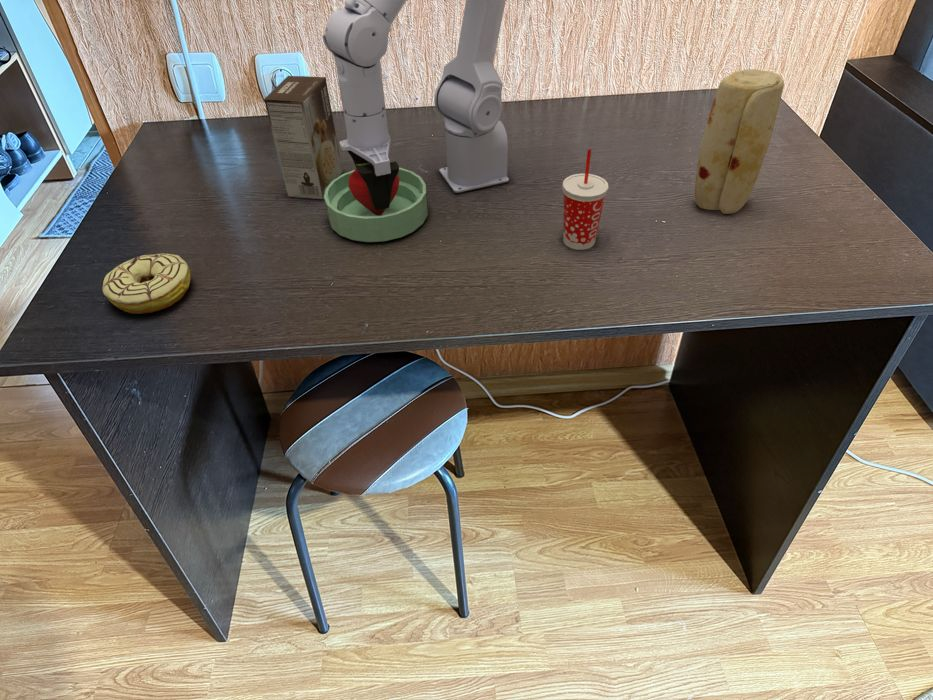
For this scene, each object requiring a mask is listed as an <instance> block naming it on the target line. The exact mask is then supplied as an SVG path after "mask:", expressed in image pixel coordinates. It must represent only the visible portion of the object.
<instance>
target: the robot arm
mask: <svg viewBox="0 0 933 700" xmlns="http://www.w3.org/2000/svg"><path fill="white" fill-rule="evenodd" d="M407 1H408V0H344V7H340V8H339V10H338V9H336V10H334V11H333V12H332V13H331V15H330V16H329V18H328V19H327V22H326V25H325V32H324V34H322V35H321V37H322V41H323V45H324V46H325V47H326V49H327V50H328V51H329V52H330V53H331V54H332V56H333V58H334V63H335V67H336V68H335V69H336V74H337V80H338V87H339V92H340V93H339V94H340V100H341V106H342V112H343V113H342V114H343V118H344V125H345V131H346V132H345V133H346V139H342V140H340V141H339V143H338V144H339V147H340V149H341V151H343V152H347V153H348V154H349V155H350V157H351V159H352V161H353V163H354V166H355V169H356V168H357V171H358V172H359V174H360V176H361V177H362V179H363V180H364V181H365V183H366V185H367V188H368V191H369V194H370V197H371V201H372V203H373V206H374V208H375V210H382V209H386V208H389V206H390V200H391V192H392V187H393V183H394V180H395V178H396V176H397V174H398V172H399V168H400V165H399V163H398V162H397V160H396V161H390V158H389V157H390V150H391V142H392V140H391V135H390V134H389V126H388V117H387V107H386V100H385V91H384V82H383V73H382V63H381V59H382V58H383V57H384V56H385V55H386V53H387V50H388V46H389V35H390V32H391V27H392V25H393V23H394V21H395V20H396V19H397V16H398V15H399V14H400V12H401V10H402V9H403V7H404V6H405V4H406V3H407ZM506 1H507V0H465V3H464V11H463V16H462V20H461V28H460V32H459V38H458V43H457V50H456V55H455V57H454V58H452V59H451V60H450V61H449V62H447V63H446V64H445V65H444V66H443V71H442V76H441V78H440V81H439V82H438V84H437V85H436V88H435V91H434V95H433V96H434V97H433V101H434V107H435V109H436V111H437V112H438V113H439V114H440V115H442V123H443V124H444V129H445V150H446V167H441V168H439V173H440V175H441V176H442V178H443V179H444V180H445V182H446V183H447V185H448V186H449V187H450V188H451V190H452V191H453V193H455V194H458V193H464V192H469V191H472V190H478V189H482V188H488V187H491V186H496V185H501V184H505V183H509V181H510V178H509V177H508V162H509V161H508V159H509V157H508V155H509V153H508V152H509V141H508V134H507V130H506V128H505V126H504V123H503V122H502V121H501V120H500V119H501V116H502V112H503V102H502V101H503V100H502V91H503V87H504V84H503V81H502V79H501V76H500V75H499V72H498V71H497V69H496V68H495V66H494V61H495V57H496V51H497V47H498V42H499V37H500V32H501V26H502V21H503V18H504V17H503V16H504V12H505V6H506ZM366 163H369V164H367V165H362V166H357V165H356V164H366Z"/></svg>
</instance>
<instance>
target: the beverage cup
mask: <svg viewBox="0 0 933 700" xmlns="http://www.w3.org/2000/svg"><path fill="white" fill-rule="evenodd" d="M591 159H592V148H587V154H586V161H585V162H586V163H585V170H584V173H575V174H571V175H569V176H567V177H566V178H565V179H564V180H563V181H562V193H563V194H564V195H563V226H562V227H563V228H562V229H563V233H562V242H563V244H564V245H565V246H566V247H568V248H570V249H573V250H581V251H582V250H588V249H591V248H592V247H593V246H594V245H595V244H596V241H597V236H598V231H599V226H600V221H601V217H602V212H603V208H604V203H605V197H606V196H607V194H608V191H609V183H608V182H607V180H606V179H605V178H603V177H601V176H599V175H597V174H592V173H590V166H591Z"/></svg>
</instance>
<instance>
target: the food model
mask: <svg viewBox="0 0 933 700" xmlns="http://www.w3.org/2000/svg"><path fill="white" fill-rule="evenodd" d="M784 86H785V80H784V79H783V78H782V76H781V75H780V74H778V73H776V72H774V71H771V70H762V69H757V68H755V69H754V68H753V69H751V68H750V69H748V68H747V69H742V70H736V71H733V72H731V73H729V74H728V75H727V76H725V77H723V79H722V80H721V81H720V83H719V85H718V87H717V90H716V92H715V96H714V99H713V102H712V106H711V109H710V112H709V115H708V118H707V121H706V125H705V128H704V133H703V136H702V140H701V143H700V149H699V155H698V161H697V169H696V176H695V185H694V201H695V203H696V205H697V206H698V208H700V209H704V210H708V211H709V210H710V211H721V213H722V214H724V215H727V214H728V215H732V214H735V213H736V212H739V211H740V210H741V209H742V208H743V207H744V205H745V204H746V203H747V202H748V200H749V198H750V197H751V195H752V193H753V190H754V187H755V184H756V183H757V180H758V177H759V174H760V172H761V170H762V166H763V163H764V161H765V158H766V155H767V152H768V149H769V147H770V143H771V140H772V136H773V132H774V129H775V128H774V127H775V124H776V120H777V114H778V111H779V108H780V103H781V99H782V95H783V91H784Z"/></svg>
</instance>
